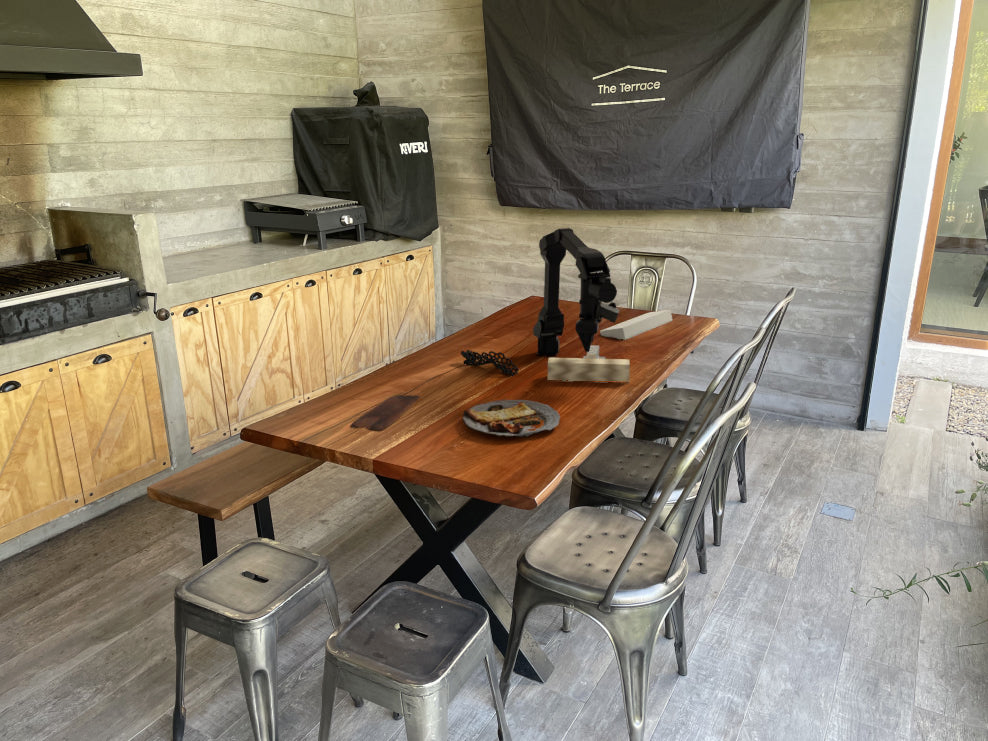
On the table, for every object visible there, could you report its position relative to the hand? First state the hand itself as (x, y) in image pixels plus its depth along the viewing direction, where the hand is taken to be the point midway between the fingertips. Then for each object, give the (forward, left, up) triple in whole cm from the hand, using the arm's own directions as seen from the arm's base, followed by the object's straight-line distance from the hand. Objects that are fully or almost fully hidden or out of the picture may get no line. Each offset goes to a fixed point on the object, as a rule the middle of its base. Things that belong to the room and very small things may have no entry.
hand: (588, 347), depth 222 cm
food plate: (-16, -38, -10) cm, 43 cm away
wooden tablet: (-50, -36, -11) cm, 63 cm away
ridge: (0, +14, -10) cm, 17 cm away
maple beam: (0, 0, -10) cm, 10 cm away
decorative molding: (+12, +62, -11) cm, 64 cm away
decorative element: (-32, +5, -10) cm, 34 cm away
